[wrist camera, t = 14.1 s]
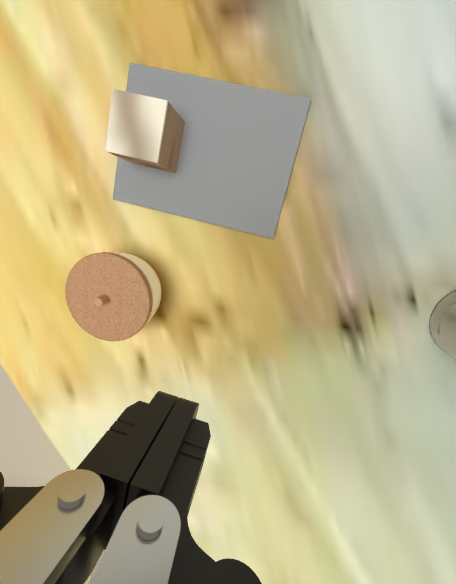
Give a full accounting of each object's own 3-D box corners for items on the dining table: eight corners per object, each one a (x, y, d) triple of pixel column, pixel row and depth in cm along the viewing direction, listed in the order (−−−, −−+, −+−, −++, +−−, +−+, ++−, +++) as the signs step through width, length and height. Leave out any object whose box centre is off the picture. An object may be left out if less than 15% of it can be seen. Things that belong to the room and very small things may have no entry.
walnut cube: (112, 88, 29) (139, 111, 35) (105, 150, 31) (131, 163, 36) (167, 100, 29) (184, 121, 34) (157, 162, 30) (175, 173, 36)
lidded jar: (101, 314, 43) (54, 338, 33) (103, 243, 40) (53, 247, 31) (169, 327, 41) (140, 355, 32) (175, 254, 39) (146, 262, 30)
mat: (310, 100, 32) (311, 98, 32) (272, 238, 36) (272, 238, 36) (131, 64, 34) (129, 62, 34) (114, 199, 38) (112, 199, 38)
